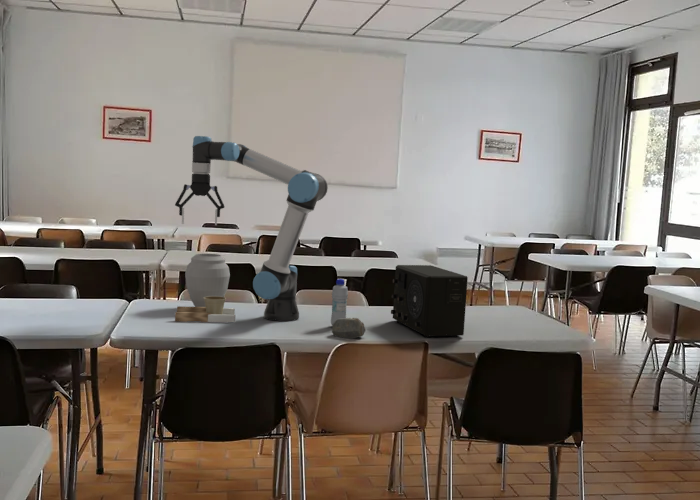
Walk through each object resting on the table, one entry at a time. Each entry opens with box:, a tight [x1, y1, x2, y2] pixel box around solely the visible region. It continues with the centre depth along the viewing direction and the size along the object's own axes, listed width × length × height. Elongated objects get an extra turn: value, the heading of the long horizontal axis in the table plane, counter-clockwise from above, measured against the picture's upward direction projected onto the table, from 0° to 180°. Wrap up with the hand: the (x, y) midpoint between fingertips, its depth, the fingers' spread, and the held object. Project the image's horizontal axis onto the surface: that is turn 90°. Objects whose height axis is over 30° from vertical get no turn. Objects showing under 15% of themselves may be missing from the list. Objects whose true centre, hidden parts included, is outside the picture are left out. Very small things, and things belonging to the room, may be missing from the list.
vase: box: [184, 253, 231, 307], centre depth 311 cm, size 20×20×24 cm
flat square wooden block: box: [174, 305, 211, 323], centre depth 291 cm, size 14×14×4 cm
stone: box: [331, 317, 366, 339], centre depth 273 cm, size 12×8×8 cm, turn 69°
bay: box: [207, 307, 236, 323], centre depth 294 cm, size 11×15×3 cm
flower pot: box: [204, 296, 227, 315], centre depth 293 cm, size 9×9×9 cm
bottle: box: [330, 278, 349, 328], centre depth 289 cm, size 7×7×20 cm
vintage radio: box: [390, 264, 469, 338], centre depth 295 cm, size 38×20×25 cm, turn 18°
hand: (199, 224), depth 295 cm, fingers open, 13 cm apart
